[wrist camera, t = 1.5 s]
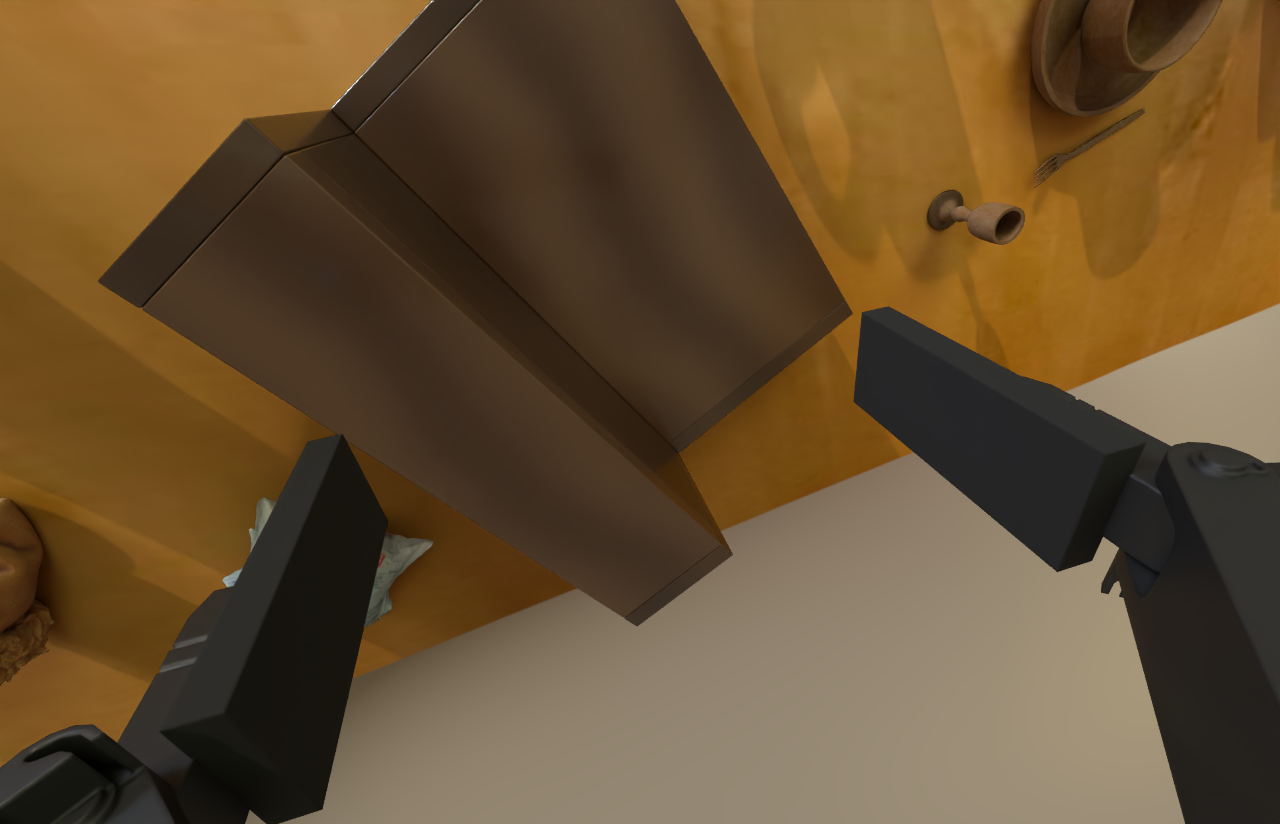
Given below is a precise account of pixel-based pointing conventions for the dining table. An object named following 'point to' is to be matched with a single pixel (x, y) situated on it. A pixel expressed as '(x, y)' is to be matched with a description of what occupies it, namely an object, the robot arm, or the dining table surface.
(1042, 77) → the place setting
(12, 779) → the robot arm
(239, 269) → the stepped stand
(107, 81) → the dining table surface
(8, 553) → the stuffed squirrel
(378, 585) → the packaged food
